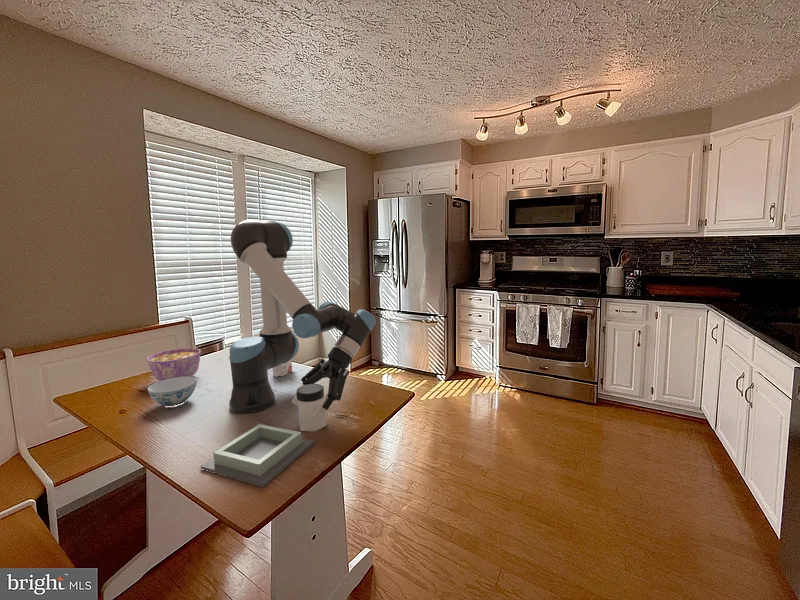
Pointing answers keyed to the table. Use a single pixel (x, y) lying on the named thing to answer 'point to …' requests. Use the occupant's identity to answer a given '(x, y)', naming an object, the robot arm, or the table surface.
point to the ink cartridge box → (282, 369)
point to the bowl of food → (174, 363)
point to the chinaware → (172, 390)
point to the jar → (310, 407)
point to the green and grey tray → (258, 454)
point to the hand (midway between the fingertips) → (304, 410)
